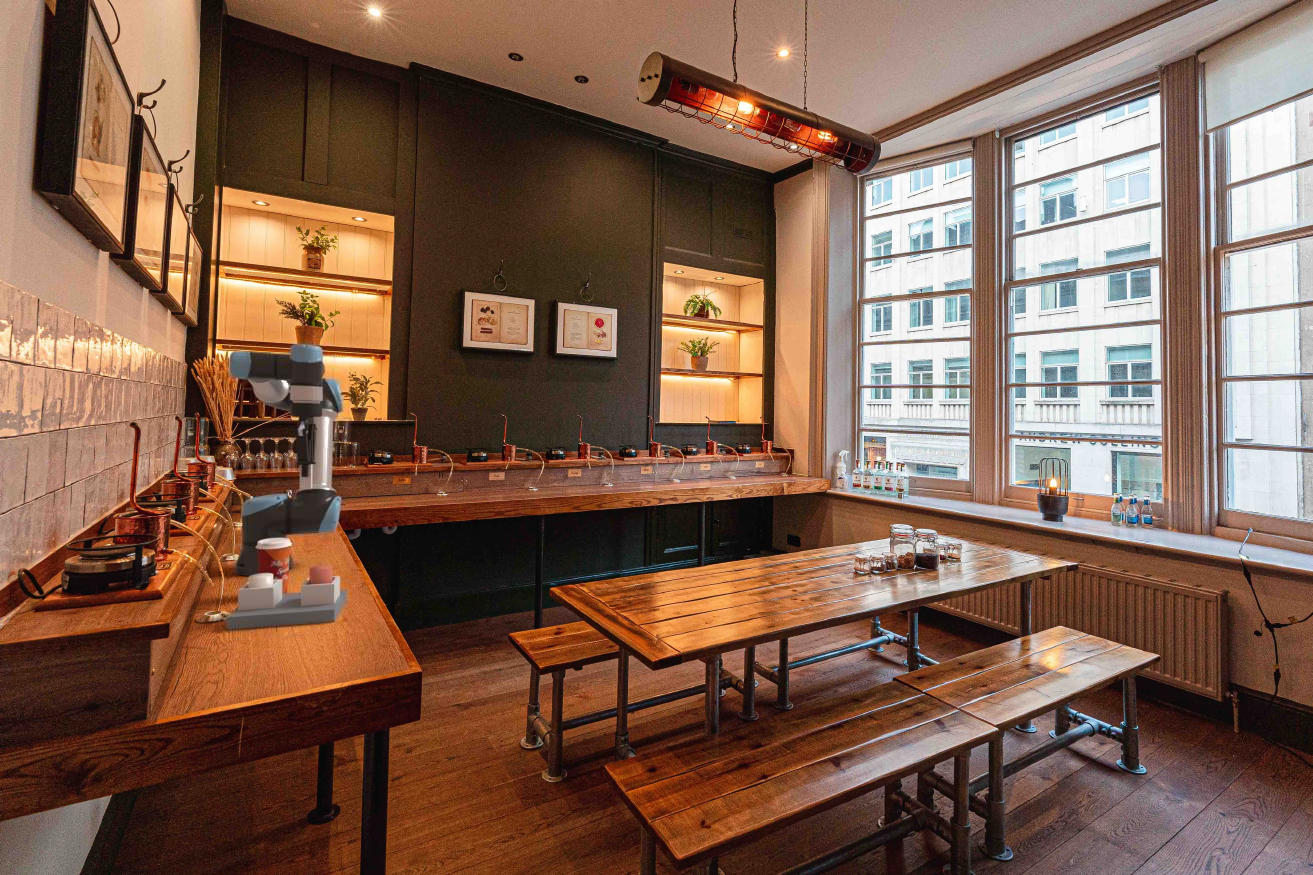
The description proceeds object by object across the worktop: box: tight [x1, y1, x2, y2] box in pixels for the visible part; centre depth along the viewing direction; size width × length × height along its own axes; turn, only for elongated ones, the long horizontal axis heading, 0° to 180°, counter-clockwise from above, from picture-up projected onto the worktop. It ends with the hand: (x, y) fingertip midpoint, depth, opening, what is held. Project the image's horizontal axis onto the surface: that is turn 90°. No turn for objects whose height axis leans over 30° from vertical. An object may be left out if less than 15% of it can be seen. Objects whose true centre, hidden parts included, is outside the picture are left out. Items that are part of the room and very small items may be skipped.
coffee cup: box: [256, 537, 293, 594], centre depth 157 cm, size 8×8×15 cm
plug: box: [247, 573, 273, 588], centre depth 141 cm, size 5×5×7 cm
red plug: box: [309, 564, 334, 585], centre depth 145 cm, size 5×5×7 cm
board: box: [226, 575, 348, 631], centre depth 143 cm, size 16×22×8 cm
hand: (306, 488), depth 157 cm, fingers closed
